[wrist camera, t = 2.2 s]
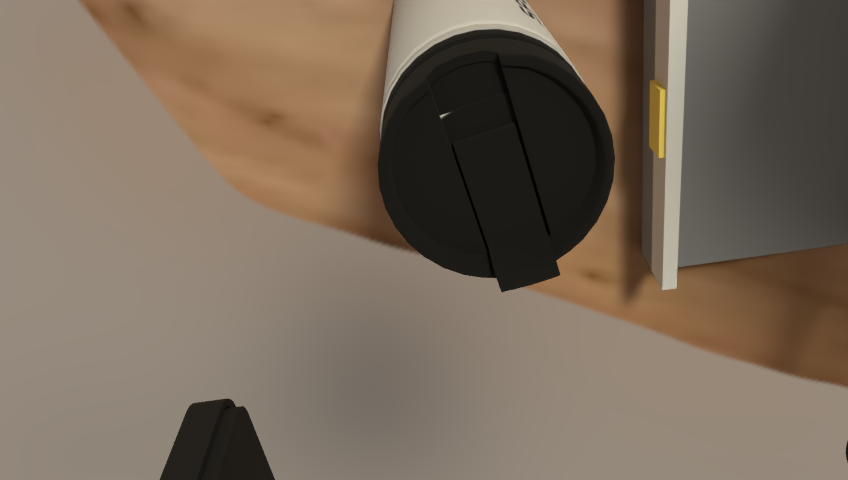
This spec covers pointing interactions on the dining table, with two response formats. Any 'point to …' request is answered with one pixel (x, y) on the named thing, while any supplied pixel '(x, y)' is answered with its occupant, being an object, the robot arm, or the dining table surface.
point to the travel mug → (489, 140)
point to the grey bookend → (742, 130)
